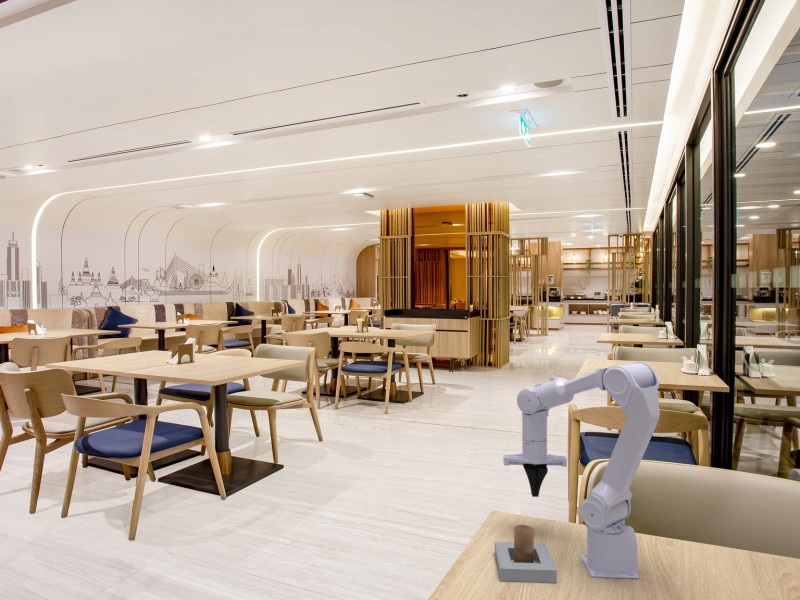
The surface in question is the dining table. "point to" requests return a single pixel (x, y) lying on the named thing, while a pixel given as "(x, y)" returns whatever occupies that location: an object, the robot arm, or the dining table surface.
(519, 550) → the plug
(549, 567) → the socket block
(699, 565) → the dining table surface
